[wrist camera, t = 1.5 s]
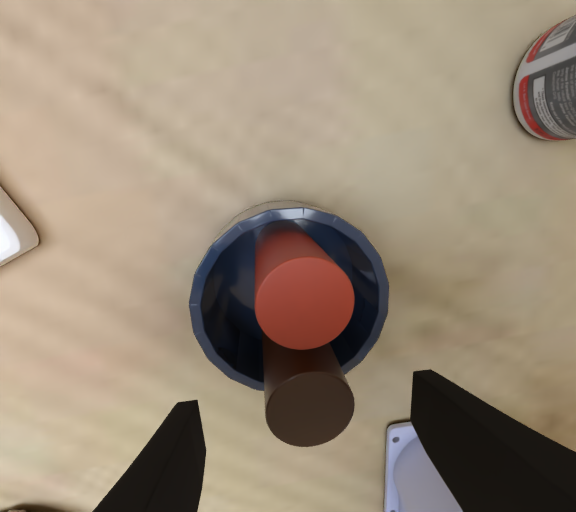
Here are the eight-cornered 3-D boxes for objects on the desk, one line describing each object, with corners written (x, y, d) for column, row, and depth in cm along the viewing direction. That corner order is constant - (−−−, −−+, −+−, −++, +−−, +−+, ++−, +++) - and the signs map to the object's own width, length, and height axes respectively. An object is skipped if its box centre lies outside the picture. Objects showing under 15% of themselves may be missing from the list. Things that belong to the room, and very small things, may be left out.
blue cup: (357, 336, 18) (386, 380, 14) (216, 352, 17) (204, 404, 13) (357, 195, 16) (392, 200, 12) (195, 206, 15) (173, 216, 11)
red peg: (310, 271, 16) (355, 344, 9) (257, 276, 16) (259, 355, 9) (308, 218, 15) (355, 252, 8) (252, 222, 15) (249, 261, 8)
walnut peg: (313, 331, 17) (354, 441, 10) (263, 336, 17) (269, 453, 10) (311, 284, 16) (355, 366, 9) (258, 289, 16) (261, 378, 9)
